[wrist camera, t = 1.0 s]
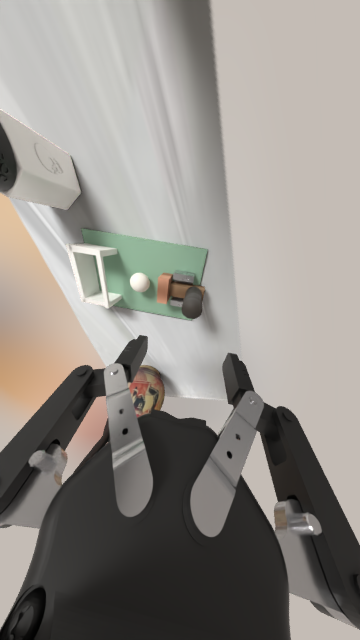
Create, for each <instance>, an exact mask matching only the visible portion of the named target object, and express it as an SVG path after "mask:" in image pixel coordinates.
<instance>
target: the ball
mask: <svg viewBox="0 0 360 640" xmlns="http://www.w3.org/2000/svg"><path fill="white" fill-rule="evenodd" d="M130 285H131V287H132V288H133V290H135V291H137V292H145V291H146V290H147V289H148V288H149V286H150V281H149V278H148V277H147V276H146V275H145V274H143V273H135V274H134V275H132V277H131V279H130Z"/></svg>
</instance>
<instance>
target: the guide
mask: <svg viewBox="0 0 360 640" xmlns="http://www.w3.org/2000/svg"><path fill="white" fill-rule="evenodd" d="M194 276H195V273H191V272H186V271H180V270H176V271H175V272H174V274H173V279H174V281H175V282H181V283H186V284H192V285H193V281H194ZM183 301H184V298H179V297H174V296H172V298H171V301H170V305H172V306H178V307H182V305H183Z"/></svg>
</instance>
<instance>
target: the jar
mask: <svg viewBox="0 0 360 640" xmlns="http://www.w3.org/2000/svg"><path fill="white" fill-rule="evenodd" d="M0 193H2V194H4V195H5V196H7V197H10V198H15V199H19V200H24V201H28V202H33V203H37V204H42V205H46V206H51V207H56V208H60V209H65V210H68V209H69V207H70V206H71V205H72V204H73V202H74V201H75V200H76V199H77V197H78V196H79V195H80V194H81V190H80V187H79V183H78V180H77V177H76V173H75V170H74V166H73V163H72V160H71V156H70V154H69V153H67V152H66V151H64V150H63V149H61V148H60V147H58V146H57V145H55V144H54V143H52V142H51V141H49V140H48V139H46V138H45V137H43V136H42V135H40V134H39V133H37V132H36V131H34V130H33V129H31V128H30V127H28V126H27V125H25V124H24V123H22V122H20V121H19V120H17V119H16V118H14V117H13V116H11V115H10V114H8V113H7V112H5V111H4V110H2V109H1V108H0Z"/></svg>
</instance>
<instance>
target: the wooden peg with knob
mask: <svg viewBox="0 0 360 640" xmlns="http://www.w3.org/2000/svg"><path fill="white" fill-rule="evenodd" d="M172 278H173V274H169V273H163V274H161V275H160V276H159V277H158V289H157V303H163V304H167V302H168V300H169V298H170V296H174V297H179V298H184V301H183V305H182V309H181V310H182V314H183V315H184V316H185V317H186V318H189V319H195V318H198V317H199V316H200V315H201V313H202V300H203V296H204V292H205V287H203V286H198V285H192V284H186V283H181V282H175V281H172Z"/></svg>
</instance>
